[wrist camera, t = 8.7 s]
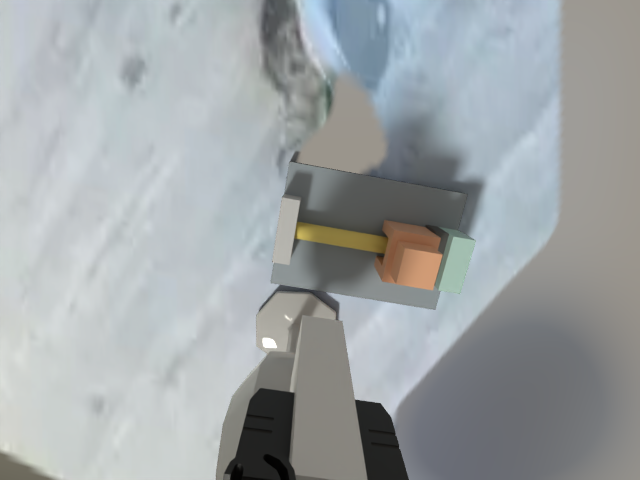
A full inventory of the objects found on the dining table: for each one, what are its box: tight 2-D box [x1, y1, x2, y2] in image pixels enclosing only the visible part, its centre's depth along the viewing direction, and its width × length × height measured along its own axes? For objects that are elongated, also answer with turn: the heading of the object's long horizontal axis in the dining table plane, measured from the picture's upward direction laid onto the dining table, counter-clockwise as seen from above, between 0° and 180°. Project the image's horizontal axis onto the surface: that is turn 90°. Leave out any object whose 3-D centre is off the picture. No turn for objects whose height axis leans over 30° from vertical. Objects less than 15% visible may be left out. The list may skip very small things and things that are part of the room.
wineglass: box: [216, 291, 336, 480], centre depth 27 cm, size 9×9×21 cm
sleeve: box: [374, 220, 443, 290], centre depth 31 cm, size 5×4×7 cm
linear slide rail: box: [271, 161, 476, 310], centre depth 33 cm, size 12×17×5 cm
